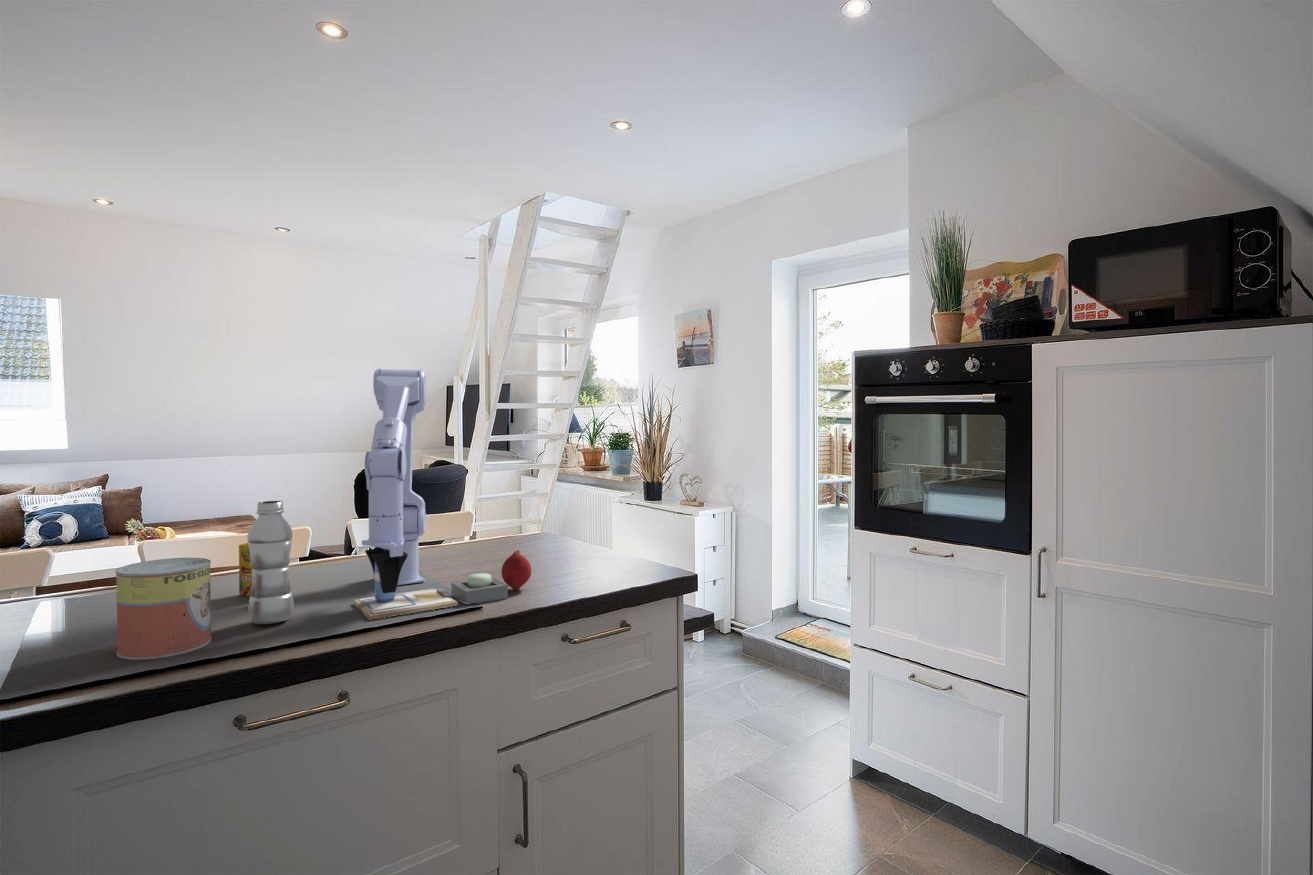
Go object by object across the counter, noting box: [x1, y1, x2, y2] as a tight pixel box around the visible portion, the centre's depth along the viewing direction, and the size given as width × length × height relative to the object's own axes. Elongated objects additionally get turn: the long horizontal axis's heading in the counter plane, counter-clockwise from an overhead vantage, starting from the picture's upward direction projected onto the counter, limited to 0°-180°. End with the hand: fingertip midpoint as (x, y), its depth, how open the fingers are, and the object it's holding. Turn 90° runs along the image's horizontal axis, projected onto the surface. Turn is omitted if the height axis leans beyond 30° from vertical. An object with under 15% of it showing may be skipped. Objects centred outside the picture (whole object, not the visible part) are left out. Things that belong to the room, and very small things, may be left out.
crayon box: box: [238, 542, 252, 598], centre depth 126 cm, size 7×3×12 cm, turn 68°
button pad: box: [450, 576, 509, 604], centre depth 126 cm, size 8×8×2 cm
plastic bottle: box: [246, 500, 295, 625], centre depth 109 cm, size 6×7×20 cm
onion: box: [500, 549, 532, 591], centre depth 132 cm, size 6×6×8 cm
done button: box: [466, 572, 492, 589], centre depth 126 cm, size 4×4×2 cm
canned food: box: [115, 557, 213, 661], centre depth 98 cm, size 11×11×12 cm
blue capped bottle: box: [374, 562, 396, 603], centre depth 119 cm, size 3×3×7 cm
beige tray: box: [353, 587, 459, 621], centre depth 120 cm, size 12×15×1 cm
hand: (386, 589), depth 120 cm, fingers closed on blue capped bottle, 3 cm apart
